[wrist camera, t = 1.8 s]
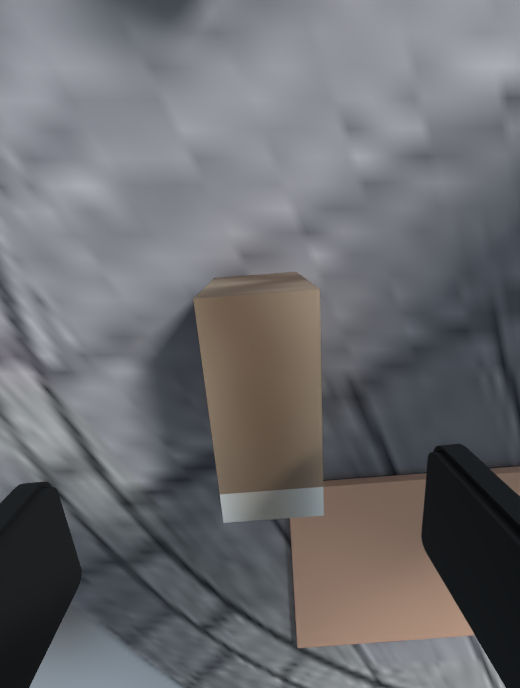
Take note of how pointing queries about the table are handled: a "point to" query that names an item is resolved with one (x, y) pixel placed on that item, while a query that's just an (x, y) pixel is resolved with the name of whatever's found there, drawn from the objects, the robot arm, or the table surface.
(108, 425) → the table surface
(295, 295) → the card box
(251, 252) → the table surface
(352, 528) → the mat
